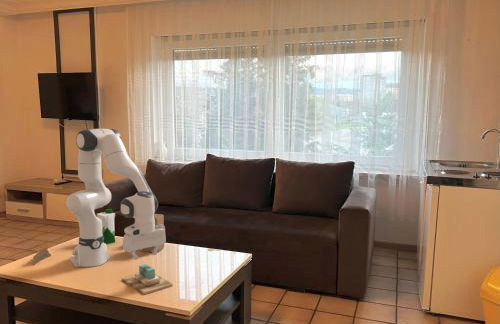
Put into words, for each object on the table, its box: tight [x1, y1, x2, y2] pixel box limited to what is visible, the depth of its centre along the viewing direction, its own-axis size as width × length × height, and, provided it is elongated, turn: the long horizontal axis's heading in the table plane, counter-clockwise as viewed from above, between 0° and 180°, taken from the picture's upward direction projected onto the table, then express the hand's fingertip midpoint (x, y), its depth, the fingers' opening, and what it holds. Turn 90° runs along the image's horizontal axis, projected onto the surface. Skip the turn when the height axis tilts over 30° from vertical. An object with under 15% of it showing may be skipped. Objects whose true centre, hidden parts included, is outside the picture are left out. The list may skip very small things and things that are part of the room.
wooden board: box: [121, 273, 174, 296], centre depth 192 cm, size 22×14×1 cm, turn 42°
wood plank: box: [32, 247, 52, 266], centre depth 221 cm, size 15×2×5 cm, turn 179°
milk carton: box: [96, 208, 116, 245], centre depth 251 cm, size 9×9×20 cm
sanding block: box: [134, 263, 160, 287], centre depth 191 cm, size 12×6×6 cm, turn 43°
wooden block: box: [141, 213, 165, 253], centre depth 238 cm, size 10×10×20 cm
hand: (145, 256), depth 191 cm, fingers open, 8 cm apart
